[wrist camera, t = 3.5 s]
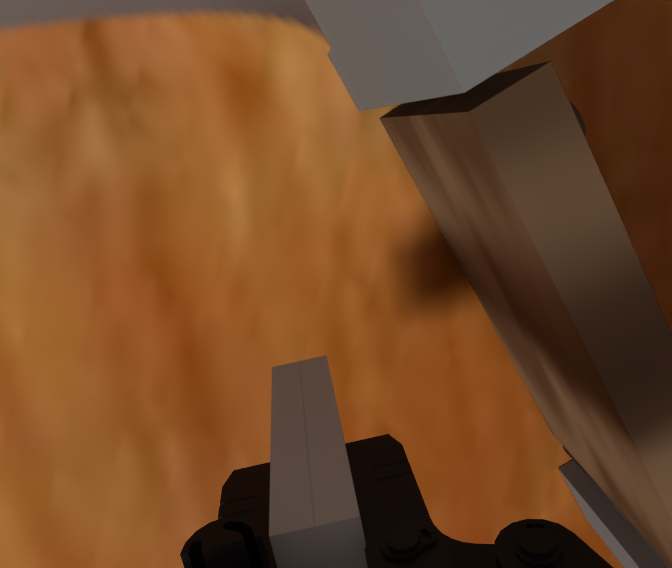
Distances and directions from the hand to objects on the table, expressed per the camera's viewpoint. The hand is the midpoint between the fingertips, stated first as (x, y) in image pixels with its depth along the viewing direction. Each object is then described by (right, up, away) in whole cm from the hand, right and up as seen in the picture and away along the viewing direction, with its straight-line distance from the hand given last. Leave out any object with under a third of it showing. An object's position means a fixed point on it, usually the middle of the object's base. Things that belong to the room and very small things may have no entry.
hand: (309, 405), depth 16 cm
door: (+7, +3, +5) cm, 9 cm away
